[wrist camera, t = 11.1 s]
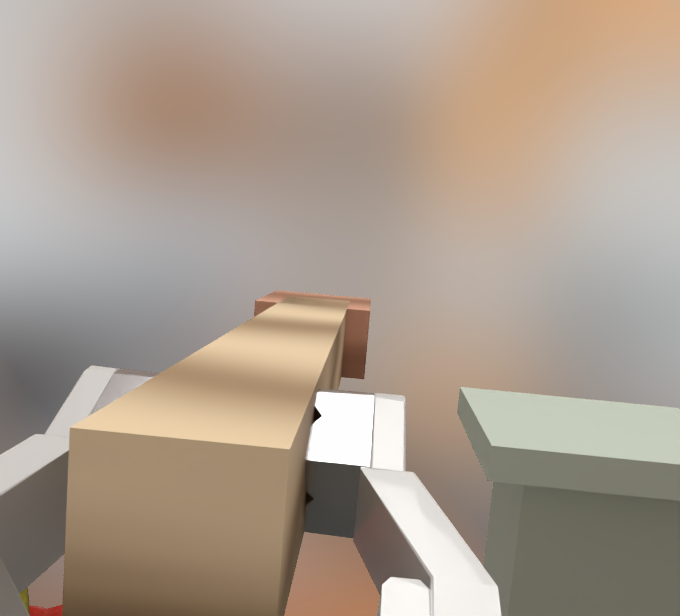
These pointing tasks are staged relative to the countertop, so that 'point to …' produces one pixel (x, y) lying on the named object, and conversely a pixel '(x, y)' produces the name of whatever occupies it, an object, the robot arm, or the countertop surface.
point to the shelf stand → (579, 503)
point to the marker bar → (207, 469)
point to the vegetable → (39, 613)
